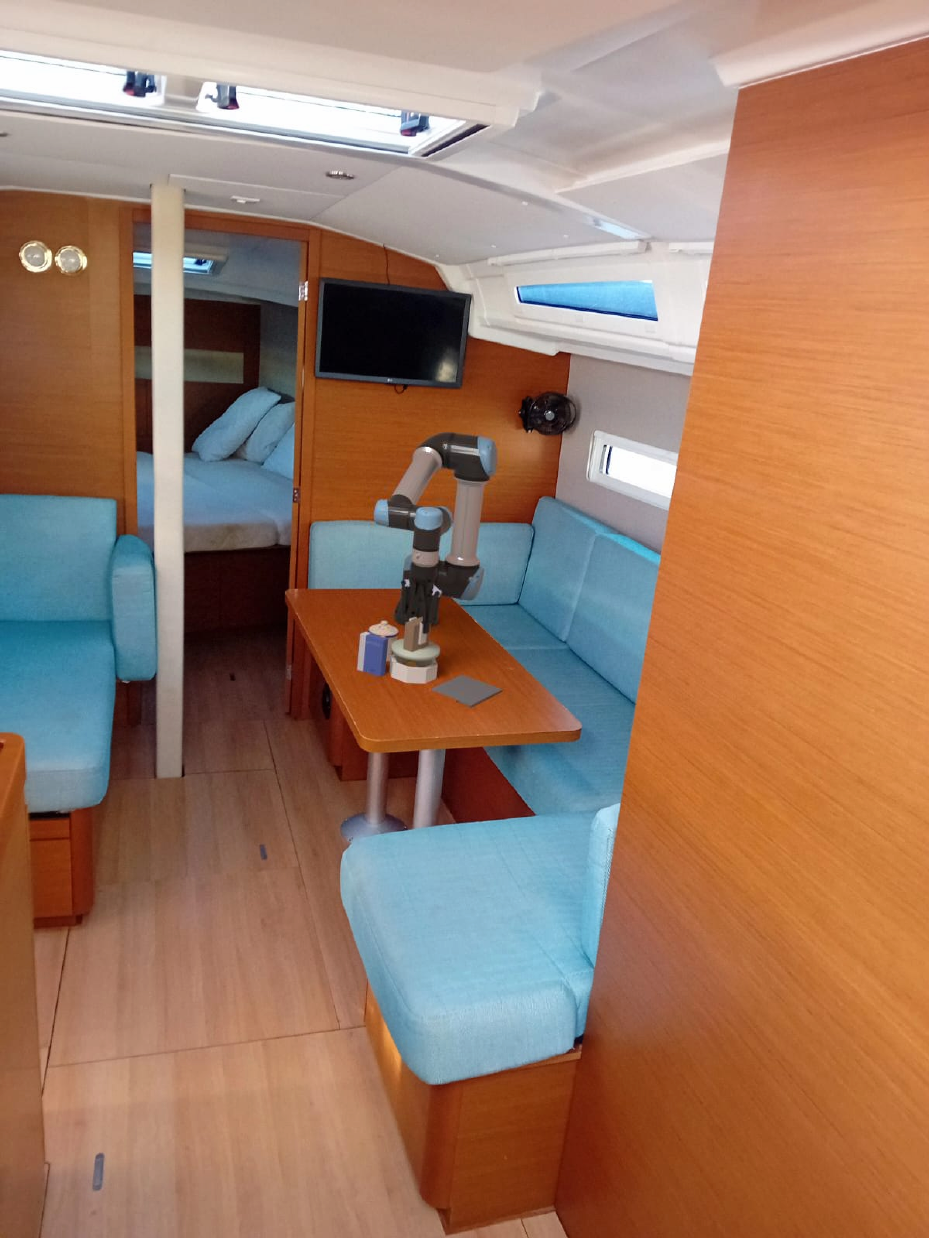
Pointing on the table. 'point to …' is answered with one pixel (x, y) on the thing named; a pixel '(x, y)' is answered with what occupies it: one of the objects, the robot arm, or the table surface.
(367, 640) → the walkman
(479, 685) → the mat
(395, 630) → the teacup with lid
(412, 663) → the clementine
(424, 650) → the lid
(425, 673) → the bowl
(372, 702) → the table surface
